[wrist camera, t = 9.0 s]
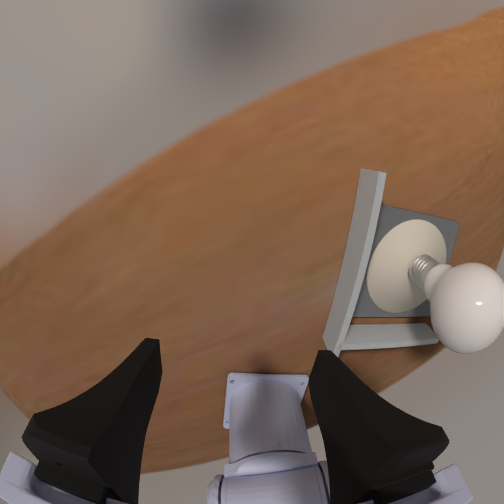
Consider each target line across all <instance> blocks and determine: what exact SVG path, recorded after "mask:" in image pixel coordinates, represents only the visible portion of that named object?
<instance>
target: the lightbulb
mask: <svg viewBox="0 0 504 504" xmlns="http://www.w3.org/2000/svg"><path fill="white" fill-rule="evenodd" d="M409 274H410V278H411V279H412V280H413V281H414V282H415V283H416V284H417V285H418V286H419V287H421V288H422V289H423V290H424V293H425V295H426V297H427V299H428V301H429V302H430V316H431V323H432V326H433V329H434V332H435V334H436V336H437V337H438V339H439V340H440V341H441V343H442V344H443V345H444V346H446V347H447V348H449V349H450V350H452V351H454V352H457V353H461V354H471V353H476V352H479V351H481V350H483V349H485V348H487V347H488V346H490V345H491V344H492V343H493V342H494V341H495V340H496V339H497V338H498V337H499V335H500V334H501V332H502V330H503V328H504V282H503V280H502V278H501V277H500V276H499V275H498V273H497V272H496V271H495V270H493V269H492V268H490V267H489V266H487V265H484V264H481V263H475V262H471V263H464V264H460V265H457V266H451V265H448V264H441V263H439V262H438V261H436V260H435V259H433V258H432V257H430V256H429V255H427V254H422V255H419V256H418V257H417V258H415V260H414V261H413V262H412V264H411V267H410V271H409Z"/></svg>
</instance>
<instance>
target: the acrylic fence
mask: <svg viewBox="0 0 504 504" xmlns="http://www.w3.org/2000/svg"><path fill="white" fill-rule="evenodd" d="M385 179H386V173H384V172H380V171H374V170H368V169H362V168H361V169H360V176H359V182H358V188H357V194H356V200H355V205H354V211H353V216H352V221H351V226H350V231H349V236H348V241H347V245H346V250H345V254H344V259H343V263H342V267H341V271H340V275H339V279H338V283H337V287H336V291H335V295H334V299H333V303H332V306H331V310H330V313H329V317H328V320H327V324H326V327H325V331H324V334H323V337H322V338H323V340H324V342H325V345H326V347H327V349H328V350H331V351H332V352H333V353H334V354H335V355H336V356H337V357H339V354H340V351H341V350H358V349H378V348H394V347H406V346H417V345H427V344H435V343H438V341H439V339H438V337H437V336H436V334H435V333H434V332H433V331H432V329H431V328H430V327H429V326H428V325H427V324H426V323H411V324H350V322H351V319H352V316H353V313H354V310H355V306H356V303H357V300H358V297H359V293H360V290H361V286H362V283H363V279H364V275H365V272H366V268H367V264H368V260H369V256H370V252H371V248H372V244H373V240H374V235H375V231H376V226H377V222H378V217H379V212H380V207H381V201H382V196H383V190H384V185H385Z"/></svg>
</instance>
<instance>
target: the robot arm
mask: <svg viewBox="0 0 504 504" xmlns="http://www.w3.org/2000/svg"><path fill="white" fill-rule="evenodd" d="M161 376H162V364H161V354H160V344H159V340H158V339H151V338H145V339H144V340H143V341H142V342H141V343H140V344H139V346H138V347H137V348H136V349H135V350H134V351H133V352H132V353H131V354H130V355H129V356H128V357H127V358H126V359H125V360H124V361H123V362H122V363H121V364H120V365H119V366H118V367H117V368H116V369H114V370H113V371H112V372H111V373H110V374H109V375H108V376H106V377H105V378H104V379H103V380H101V381H100V382H99V383H97V384H96V385H95V386H93V387H92V388H90V389H89V390H87V391H86V392H84V393H82V394H81V395H79V396H77V397H75V398H74V399H72V400H70V401H68V402H65V403H63V404H61V405H59V406H56V407H54V408H51V409H48V410H45V411H42V412H39V413H35V414H34V415H33V416H32V418H31V420H30V421H29V423H28V426H27V428H26V429H25V431H24V433H23V435H22V439H23V442H24V444H25V445H26V446H27V448H28V449H29V450H30V451H31V452H32V453H33V455H34V456H35V457H36V458H37V459H38V460H39V463H38V465H37V466H36V465H35V464H34V463H32V462H31V461H29V460H27V459H25V458H23V457H22V456H20V455H18V454H16V453H14V452H12V451H11V452H10V453H9V455H8V458H7V460H6V462H5V464H4V467H3V469H2V471H1V474H0V497H1V498H2V499H3V500H5V501H6V502H8V503H9V504H138V493H139V480H140V469H141V461H142V453H143V447H144V441H145V435H146V431H147V427H148V424H149V421H150V417H151V414H152V411H153V408H154V404H155V401H156V398H157V395H158V392H159V387H160V382H161ZM231 380H234V381H231ZM302 382H304V383H302ZM308 382H309V389H310V395H311V400H312V404H313V407H314V410H315V414H316V417H317V420H318V424H319V427H320V430H321V433H322V437H323V441H324V446H325V452H326V458H327V461H320V462H317V458H316V454H315V452H312V451H311V447H310V442H309V438H308V434H307V429H306V425H305V421H304V417H303V412H302V408H301V401H302V399H303V396H304V393H305V390H306V388H307V385H308ZM223 427H224V428H226V429H229V464H225V465H224V474H223V475H217V476H215V477H214V479H213V480H212V481H211V482H210V484H209V487H208V491H207V504H467V503H468V502H469V501H471V500H472V499H473V497H472V495H471V493H470V491H469V489H468V487H467V485H466V483H465V481H464V479H463V477H462V475H461V473H460V471H459V469H458V467H457V465H456V464H452V465H450V466H449V467H446V468H444V469H442V470H440V471H438V472H437V473H435V474H433V473H432V471H431V470H433V469H434V465H433V463H432V461H434V460H435V459H436V458H437V457H438V456H439V455H440V454H441V453H442V452H443V451H444V450H445V449H446V447H447V446H448V444H449V439H448V437H447V435H446V434H445V432H444V430H443V428H442V427H440V426H437V425H434V424H431V423H428V422H425V421H423V420H420V419H418V418H416V417H413V416H411V415H409V414H407V413H405V412H404V411H402V410H400V409H398V408H396V407H395V406H393V405H392V404H390V403H389V402H387V401H386V400H384V399H383V398H381V397H380V396H379V395H377V394H376V393H375V392H374V391H372V390H371V389H370V388H369V387H368V386H367V385H365V384H364V383H363V382H362V381H361V380H360V379H359V378H358V377H357V376H356V375H355V374H354V373H353V372H352V371H351V370H350V369H349V368H348V367H347V366H346V365H345V364H344V363H343V362H342V361H341V360H340V359H339V358H338V357H337V356H336V355H335V354H334V353H333V352H332V351H331V350H319V351H318V354H317V357H316V360H315V363H314V366H313V369H312V371H311V374H310V377H309V376H308V375H280V374H249V373H229V374H228V379H227V389H226V400H225V411H224V421H223Z"/></svg>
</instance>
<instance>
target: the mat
mask: <svg viewBox="0 0 504 504" xmlns="http://www.w3.org/2000/svg"><path fill="white" fill-rule="evenodd" d="M459 224H460V223H459V222H455V221H451V220H447V219H443V218H439V217H435V216H431V215H426V214H422V213H418V212H413V211H408V210H404V209H399V208H394V207H389V206H384V205H381V207H380V212H379V217H378V222H377V226H376V231H375V235H374V240H373V244H372V248H371V252H370V256H369V260H368V264H367V268H366V272H365V275H364V279H363V283H362V286H361V290H360V293H359V297H358V300H357V303H356V306H355V310H354V313H353V316H352V317H420V316H430V302H429V301H428V299H427V297H426V295H425V293H424V290H423V289H422V288H421V287H419V286H418V285H417V284H416V283H415V282H414V281H413V280H412V279H411V278H410V274H409V271H410V267H411V264H412V262H413V261H414V260H415V258H417V257H418V256H419V255H422V254H427V255H429V256H430V257H432V258H433V259H435V260H436V261H438V262H439V263H441V264H448V265H449V261H450V258H451V255H452V251H453V247H454V244H455V240H456V236H457V232H458V228H459Z"/></svg>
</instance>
